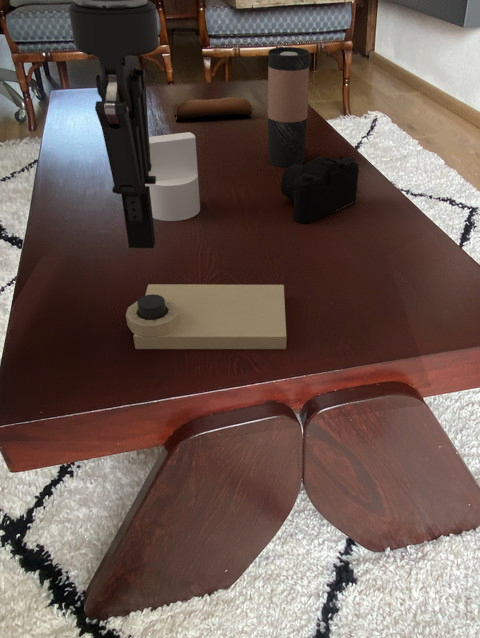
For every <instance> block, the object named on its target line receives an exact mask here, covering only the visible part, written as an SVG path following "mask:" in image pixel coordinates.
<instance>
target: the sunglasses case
mask: <svg viewBox="0 0 480 638" xmlns="http://www.w3.org/2000/svg"><path fill="white" fill-rule="evenodd" d="M175 110H176V117H177V120H178V121H179V120H188V119H196V118H201V117H219V116H236V115H240V116H241V115H249V114H250V115H252V116H253V111H252V110H253V109H252V104H251V102H250V101H249V100H247V99H245V98H242V97H241V98H240V97H235V96H234V97H233V96H231V97H230V96H229V97H222V98H215V99H212V98H211V99H197V98H196V99H188V100H184V101H183V102H180V103H178V104H177V105H176V109H175ZM250 115H249V116H250Z"/></svg>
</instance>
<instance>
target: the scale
mask: <svg viewBox="0 0 480 638" xmlns="http://www.w3.org/2000/svg"><path fill="white" fill-rule="evenodd" d="M151 294H155V295H160V296H162V297H163V298H164V299H165V306H166V315H165V316H164V317H163V318H160V319H156V320H145V319H142V318H141V317H140V316H139V310H138V304H137V302H138V300H137V301H134V303H133V304H131V305H130V306H128V307H127V310H126V313H125V319H126V325H127V327H128V328H129V330H130V332H132V333H133V343H134V348H135V350H286V349H287V321H286V318H287V317H286V302H285V301H286V300H285V299H286V298H285V284H198V283H197V284H190V283H189V284H185V283H183V284H181V283H180V284H179V283H178V284H175V283H174V284H171V283H169V284H168V283H167V284H164V283H163V284H161V283H159V284H155V283H151V284H149V283H148V285H147V288H146V291H145V295H144V296H146V295H151Z"/></svg>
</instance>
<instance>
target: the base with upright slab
mask: <svg viewBox="0 0 480 638" xmlns="http://www.w3.org/2000/svg"><path fill="white" fill-rule="evenodd" d="M149 146H150V162H151V165H152V168H151V171H150V172H148V173H149V176H156V184H145V185H146V186H149V188H150V197H151V207H152V216H153V220H154V219H155V220H158V221H164V222H178V221H179V222H180V221H185V220H189V219H191V218H194V217H196V216H197V215H198V214H199V213H200V211H201V200H200V199H201V197H200V185H199V183H200V182H199V170H198V155H197V141H196V135H195V134H194V133H192V132H189V131H187V132H180V133H171V134H162V135H161V134H160V135H153V136H149Z"/></svg>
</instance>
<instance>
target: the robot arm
mask: <svg viewBox="0 0 480 638" xmlns="http://www.w3.org/2000/svg"><path fill="white" fill-rule="evenodd" d="M69 5H70V6H68V9H67V10H68V13H69V14H68V15H69V20H70V27H71V32H72V38H73V44H74V47H75V48H76V49H77V50H78V51H79V52H80V53H82V54H84V55H88V56H90V55H92V56H94V57H96V58H97V59H98V62H99V65H98V67H99V74H96V76H95V83H96V90H97V91H96V92H97V94H98V96H99V97H100V99H101V100H97V101H95V106H94V110H95V112H96V116H97V119H98V121H99V124H100V127H101V131H102V136H103V140H104V144H105V150H106V154H107V158H108V159H107V160H108V164H109V167H110V173H111V177H112V181H113V187H112V188H111V189H112V193H113V194H116V195H121V201H122V208H123V209H122V210H123V214H124V215H123V216H124V222H125V229H126V230H125V231H126V236H127V237H126V238H127V244H128V248H129V249H154V248H155V245H156V235H155V234H156V233H155V225H154V218H153V216H152V207H151V197H150V188H149V186H146V185H145V184H156V176H149V173H148V172H150V171H151V168H152V165H151V162H150V146H149V137H150V132H149V115H148V101H147V80H148V75H147V72H146V69H142V68H141V69H140V59H139V57H140V56H145V55H147V54H151V53H153V52H155V51H156V50H157V49H158V47H159V44H160V41H159V39H160V38H159V29H158V18H157V8H156V6H155V5H154V3H153V2H152V1H149V0H73V1H72V2H71V3H69Z"/></svg>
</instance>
